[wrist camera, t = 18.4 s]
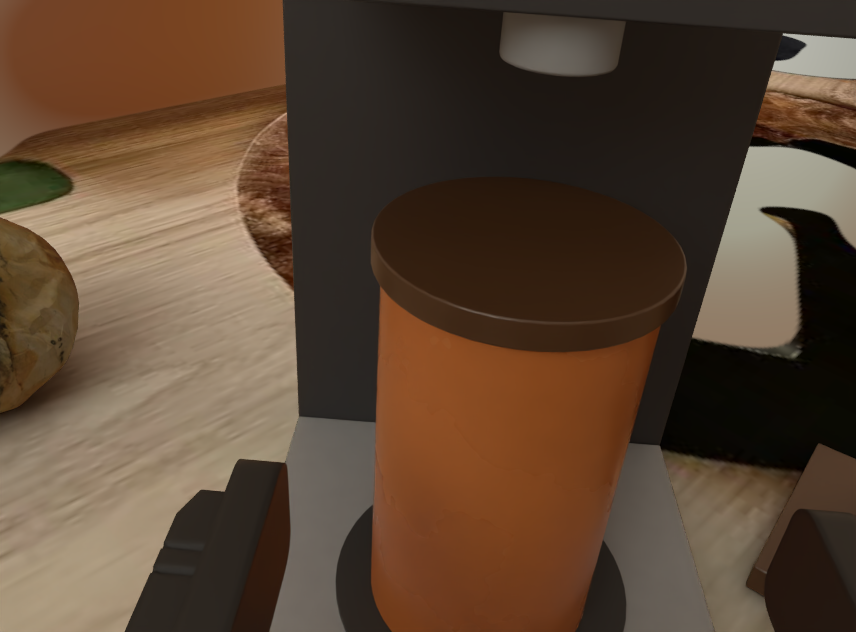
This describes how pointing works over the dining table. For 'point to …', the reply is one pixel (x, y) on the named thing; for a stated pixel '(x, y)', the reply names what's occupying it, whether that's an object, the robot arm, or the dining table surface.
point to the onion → (32, 313)
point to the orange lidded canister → (506, 395)
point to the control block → (811, 501)
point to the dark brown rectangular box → (506, 157)
